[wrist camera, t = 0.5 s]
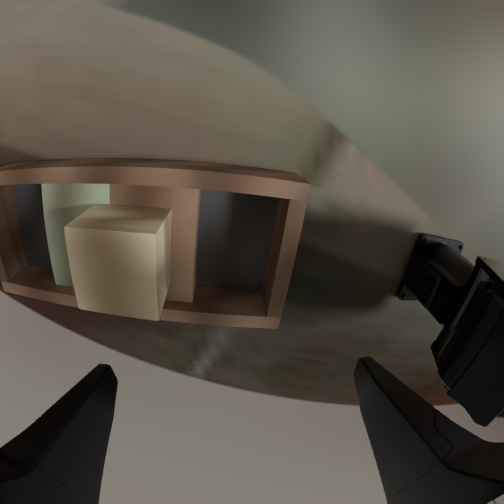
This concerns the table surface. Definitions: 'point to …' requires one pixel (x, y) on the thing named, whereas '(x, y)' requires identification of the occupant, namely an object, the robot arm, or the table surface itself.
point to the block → (121, 259)
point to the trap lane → (182, 231)
